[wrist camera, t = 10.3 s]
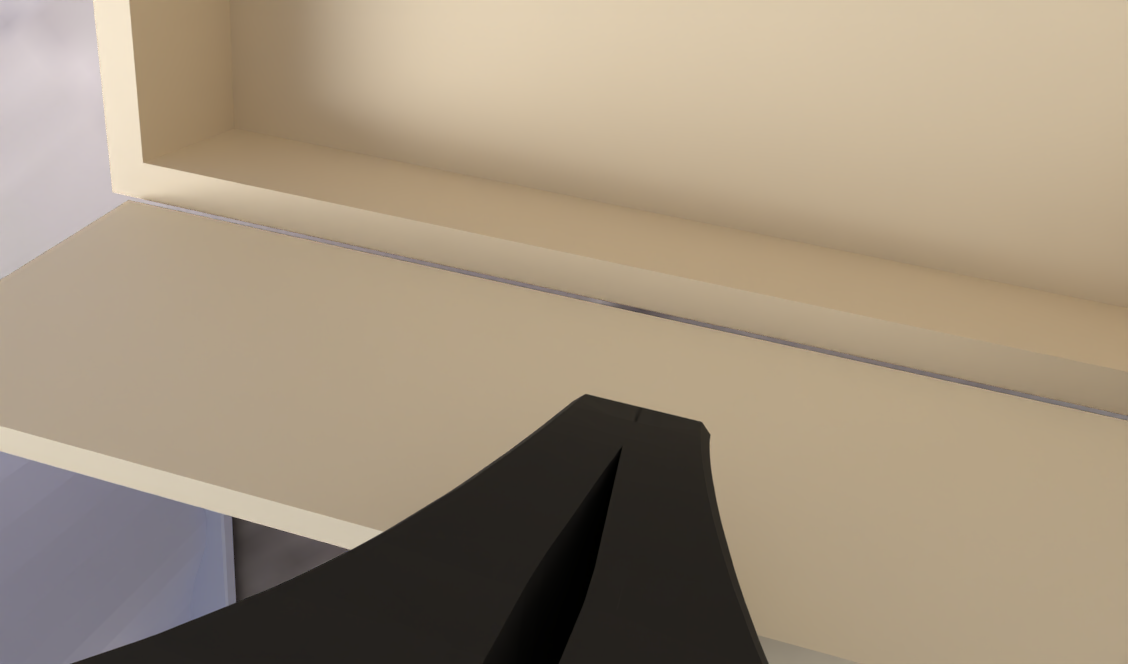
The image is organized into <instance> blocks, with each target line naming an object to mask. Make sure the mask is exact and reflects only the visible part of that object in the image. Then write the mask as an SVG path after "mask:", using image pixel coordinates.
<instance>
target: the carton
mask: <svg viewBox="0 0 1128 664" xmlns="http://www.w3.org/2000/svg"><path fill="white" fill-rule="evenodd" d="M93 5H94V15H95V25H96V35H97V45H98V54H99V64H100V74H101V84H102V94H103V104H104V113H105V123H106V133H107V143H108V153H109V163H110V172H111V182H112V192H113V193H117V194H122V195H126V196H131V197H135V198H140V199H145V200H149V201H154V202H158V203H163V204H167V205H172V206H176V207H181V208H185V209H190V210H195V211H199V212H204V213H208V214H213V215H217V216H222V217H226V218H231V219H235V220H240V221H245V222H249V223H254V224H258V225H263V226H267V227H272V228H276V229H281V230H286V231H290V232H295V233H299V234H304V235H308V236H313V237H317V238H322V239H326V240H331V241H336V242H340V243H345V244H349V245H354V246H358V247H363V248H367V249H372V250H376V251H381V252H386V253H390V254H395V255H399V256H404V257H408V258H413V259H417V260H422V261H426V262H431V263H436V264H440V265H445V266H449V267H454V268H458V269H463V270H467V271H472V272H476V273H481V274H486V275H490V276H495V277H499V278H504V279H508V280H513V281H517V282H522V283H526V284H531V285H536V286H540V287H545V288H549V289H554V290H558V291H563V292H567V293H572V294H577V295H581V296H586V297H590V298H595V299H599V300H604V301H608V302H613V303H617V304H622V305H627V306H631V307H636V308H640V309H645V310H649V311H654V312H658V313H663V314H667V315H672V316H677V317H681V318H686V319H690V320H695V321H699V322H704V323H708V324H713V325H717V326H722V327H727V328H731V329H736V330H740V331H745V332H749V333H754V334H758V335H763V336H767V337H772V338H777V339H781V340H786V341H790V342H795V343H799V344H804V345H808V346H813V347H817V348H822V349H827V350H831V351H836V352H840V353H845V354H849V355H854V356H858V357H863V358H867V359H872V360H877V361H881V362H886V363H890V364H895V365H899V366H904V367H908V368H913V369H918V370H922V371H927V372H931V373H936V374H940V375H945V376H949V377H954V378H958V379H963V380H968V381H972V382H977V383H981V384H986V385H990V386H995V387H999V388H1004V389H1008V390H1013V391H1018V392H1022V393H1027V394H1031V395H1036V396H1040V397H1045V398H1049V399H1054V400H1058V401H1063V402H1068V403H1072V404H1077V405H1081V406H1086V407H1090V408H1095V409H1099V410H1104V411H1108V412H1113V413H1118V414H1122V415H1127V416H1128V0H93Z"/></svg>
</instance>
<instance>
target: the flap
mask: <svg viewBox="0 0 1128 664" xmlns="http://www.w3.org/2000/svg"><path fill="white" fill-rule="evenodd" d="M584 394H589V395H593V396H597V397H601V398H605V399H609V400H614V401H618V402H622V403H626V404H630V405H634V406H638V407H643V408H647V409H651V410H655V411H659V412H663V413H667V414H672V415H676V416H680V417H684V418H688V419H692V420H697V421H701V422H703V424H704V425H705V427H706V429H707V430H708V432H709V433H710V435H711V436H710V462H711V471H712V478H713V484H714V489H715V495H716V500H717V505H718V509H719V514H720V518H721V522H722V526H723V530H724V533H725V537H726V541H727V544H728V548H729V551H730V555H731V558H732V562H733V565H734V569H735V572H736V575H737V579H738V582H739V585H740V588H741V591H742V594H743V597H744V600H745V603H746V605H747V608H748V611H749V614H750V616H751V619H752V622H753V624H754V627H755V630H756V633H757V635H758V638H759V641H760V643H761V646H762V648H763V651H764V653H765V656H766V658H767V661H768V663H769V664H1128V421H1127V420H1122V419H1118V418H1113V417H1109V416H1104V415H1100V414H1095V413H1091V412H1086V411H1082V410H1077V409H1073V408H1068V407H1064V406H1059V405H1055V404H1050V403H1045V402H1041V401H1036V400H1032V399H1027V398H1023V397H1018V396H1014V395H1009V394H1005V393H1000V392H996V391H991V390H987V389H982V388H978V387H973V386H968V385H964V384H959V383H955V382H950V381H946V380H941V379H937V378H932V377H928V376H923V375H919V374H914V373H910V372H905V371H901V370H896V369H891V368H887V367H882V366H878V365H873V364H869V363H864V362H860V361H855V360H851V359H846V358H842V357H837V356H833V355H828V354H824V353H819V352H814V351H810V350H805V349H801V348H796V347H792V346H787V345H783V344H778V343H774V342H769V341H765V340H760V339H756V338H751V337H747V336H742V335H737V334H733V333H728V332H724V331H719V330H715V329H710V328H706V327H701V326H697V325H692V324H688V323H683V322H679V321H674V320H670V319H665V318H660V317H656V316H651V315H647V314H642V313H638V312H633V311H629V310H624V309H620V308H615V307H611V306H606V305H602V304H597V303H593V302H588V301H583V300H579V299H574V298H570V297H565V296H561V295H556V294H552V293H547V292H543V291H538V290H534V289H529V288H525V287H520V286H516V285H511V284H506V283H502V282H497V281H493V280H488V279H484V278H479V277H475V276H470V275H466V274H461V273H457V272H452V271H448V270H443V269H439V268H434V267H429V266H425V265H420V264H416V263H411V262H407V261H402V260H398V259H393V258H389V257H384V256H380V255H375V254H371V253H366V252H362V251H357V250H353V249H348V248H343V247H339V246H334V245H330V244H325V243H321V242H316V241H312V240H307V239H303V238H298V237H294V236H289V235H285V234H280V233H276V232H271V231H266V230H262V229H257V228H253V227H248V226H244V225H239V224H235V223H230V222H226V221H221V220H217V219H212V218H208V217H203V216H199V215H194V214H189V213H185V212H180V211H176V210H171V209H167V208H162V207H158V206H153V205H149V204H144V203H140V202H135V201H131V200H128V201H126V202H125V203H123V204H121V205H120V206H118V207H117V208H115V209H113V210H112V211H110V212H108V213H107V214H105V215H104V216H102V217H100V218H99V219H97V220H96V221H94V222H92V223H91V224H89V225H88V226H86V227H84V228H83V229H81V230H80V231H78V232H76V233H75V234H73V235H72V236H70V237H68V238H67V239H65V240H64V241H62V242H60V243H59V244H57V245H56V246H54V247H52V248H51V249H49V250H48V251H46V252H44V253H43V254H41V255H40V256H38V257H36V258H35V259H33V260H32V261H30V262H28V263H27V264H25V265H24V266H22V267H20V268H19V269H17V270H15V271H14V272H12V273H11V274H9V275H7V276H6V277H4V278H3V279H1V280H0V451H1V452H5V453H8V454H12V455H15V456H19V457H22V458H26V459H30V460H33V461H37V462H40V463H44V464H47V465H51V466H54V467H58V468H62V469H65V470H69V471H72V472H76V473H79V474H83V475H86V476H90V477H94V478H97V479H101V480H104V481H108V482H111V483H115V484H118V485H122V486H126V487H129V488H133V489H136V490H140V491H143V492H147V493H150V494H154V495H158V496H161V497H165V498H168V499H172V500H175V501H179V502H182V503H186V504H190V505H193V506H197V507H200V508H204V509H207V510H211V511H214V512H218V513H222V514H225V515H229V516H232V517H236V518H239V519H243V520H246V521H250V522H254V523H257V524H261V525H264V526H268V527H271V528H275V529H278V530H282V531H286V532H289V533H293V534H296V535H300V536H303V537H307V538H310V539H314V540H318V541H321V542H325V543H328V544H332V545H335V546H339V547H342V548H346V549H350V550H352V549H353V548H355V547H357V546H359V545H361V544H362V543H364V542H366V541H368V540H370V539H372V538H373V537H375V536H377V535H379V534H381V533H382V532H384V531H386V530H388V529H389V528H391V527H393V526H394V525H396V524H397V523H399V522H401V521H402V520H404V519H406V518H407V517H409V516H411V515H412V514H414V513H415V512H417V511H419V510H420V509H422V508H424V507H425V506H427V505H429V504H430V503H432V502H434V501H435V500H437V499H438V498H440V497H442V496H443V495H445V494H447V493H448V492H450V491H451V490H453V489H454V488H456V487H457V486H459V485H460V484H462V483H463V482H465V481H466V480H468V479H469V478H470V477H472V476H473V475H475V474H476V473H478V472H479V471H480V470H482V469H483V468H485V467H486V466H488V465H489V464H491V463H492V462H493V461H495V460H496V459H498V458H499V457H501V456H502V455H503V454H505V453H506V452H508V451H509V450H510V449H512V448H513V447H514V446H516V445H517V444H518V443H520V442H521V441H522V440H524V439H525V438H526V437H528V436H529V435H530V434H532V433H533V432H534V431H536V430H537V429H538V428H540V427H541V426H542V425H543V424H545V423H546V422H547V421H548V420H550V419H551V418H552V417H554V416H555V415H556V414H557V413H559V412H560V411H561V410H562V409H564V408H565V407H566V406H567V405H569V404H570V403H571V402H572V401H574V400H576V399H577V398H579V397H581V396H583V395H584Z"/></svg>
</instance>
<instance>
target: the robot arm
mask: <svg viewBox="0 0 1128 664" xmlns="http://www.w3.org/2000/svg"><path fill="white" fill-rule="evenodd" d="M710 436H711V435H710V433H709V432H708V430H707V429H706V427H705V425H704V424H703V422H701V421H697V420H692V419H688V418H684V417H680V416H676V415H672V414H667V413H663V412H659V411H655V410H651V409H647V408H643V407H638V406H634V405H630V404H626V403H622V402H618V401H614V400H609V399H605V398H601V397H597V396H593V395H589V394H584V395H583V396H581V397H579V398H577V399H576V400H574V401H572V402H571V403H570V404H569V405H567V406H566V407H565V408H564V409H562V410H561V411H560V412H559V413H557V414H556V415H555V416H554V417H552V418H551V419H550V420H548V421H547V422H546V423H545V424H543V425H542V426H541V427H540V428H538V429H537V430H536V431H534V432H533V433H532V434H530V435H529V436H528V437H526V438H525V439H524V440H522V441H521V442H520V443H518V444H517V445H516V446H514V447H513V448H512V449H510V450H509V451H508V452H506V453H505V454H503V455H502V456H501V457H499V458H498V459H496V460H495V461H493V462H492V463H491V464H489V465H488V466H486V467H485V468H483V469H482V470H480V471H479V472H478V473H476V474H475V475H473V476H472V477H470V478H469V479H468V480H466V481H465V482H463V483H462V484H460V485H459V486H457V487H456V488H454V489H453V490H451V491H450V492H448V493H447V494H445V495H443V496H442V497H440V498H438V499H437V500H435V501H434V502H432V503H430V504H429V505H427V506H425V507H424V508H422V509H420V510H419V511H417V512H415V513H414V514H412V515H411V516H409V517H407V518H406V519H404V520H402V521H401V522H399V523H397V524H396V525H394V526H393V527H391V528H389V529H388V530H386V531H384V532H382V533H381V534H379V535H377V536H375V537H373V538H372V539H370V540H368V541H366V542H364V543H362V544H361V545H359V546H357V547H355V548H353V549H352V550H350V551H348V552H346V553H344V554H342V555H340V556H338V557H336V558H334V559H332V560H330V561H328V562H326V563H324V564H322V565H320V566H318V567H316V568H314V569H312V570H310V571H308V572H306V573H304V574H302V575H300V576H297V577H295V578H293V579H291V580H289V581H287V582H284V583H282V584H280V585H278V586H276V587H273V588H271V589H269V590H266V591H264V592H261V593H259V594H256V595H254V596H251V597H249V598H246V599H244V600H241V601H239V602H236V590H235V570H234V549H233V529H232V516H229V515H225V514H222V513H218V512H214V511H211V510H207V509H204V508H200V507H197V506H193V505H190V504H186V503H182V502H179V501H175V500H172V499H168V498H165V497H161V496H158V495H154V494H150V493H147V492H143V491H140V490H136V489H133V488H129V487H126V486H122V485H118V484H115V483H111V482H108V481H104V480H101V479H97V478H94V477H90V476H86V475H83V474H79V473H76V472H72V471H69V470H65V469H62V468H58V467H54V466H51V465H47V464H44V463H40V462H37V461H33V460H30V459H26V458H22V457H19V456H15V455H12V454H8V453H5V452H1V451H0V664H769V663H768V661H767V658H766V656H765V653H764V651H763V648H762V646H761V643H760V641H759V638H758V635H757V633H756V630H755V627H754V624H753V622H752V619H751V616H750V614H749V611H748V608H747V605H746V603H745V600H744V597H743V594H742V591H741V588H740V585H739V582H738V579H737V575H736V572H735V569H734V565H733V562H732V558H731V555H730V551H729V548H728V544H727V541H726V537H725V533H724V530H723V526H722V522H721V518H720V514H719V509H718V505H717V500H716V495H715V489H714V484H713V478H712V471H711V462H710Z"/></svg>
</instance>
